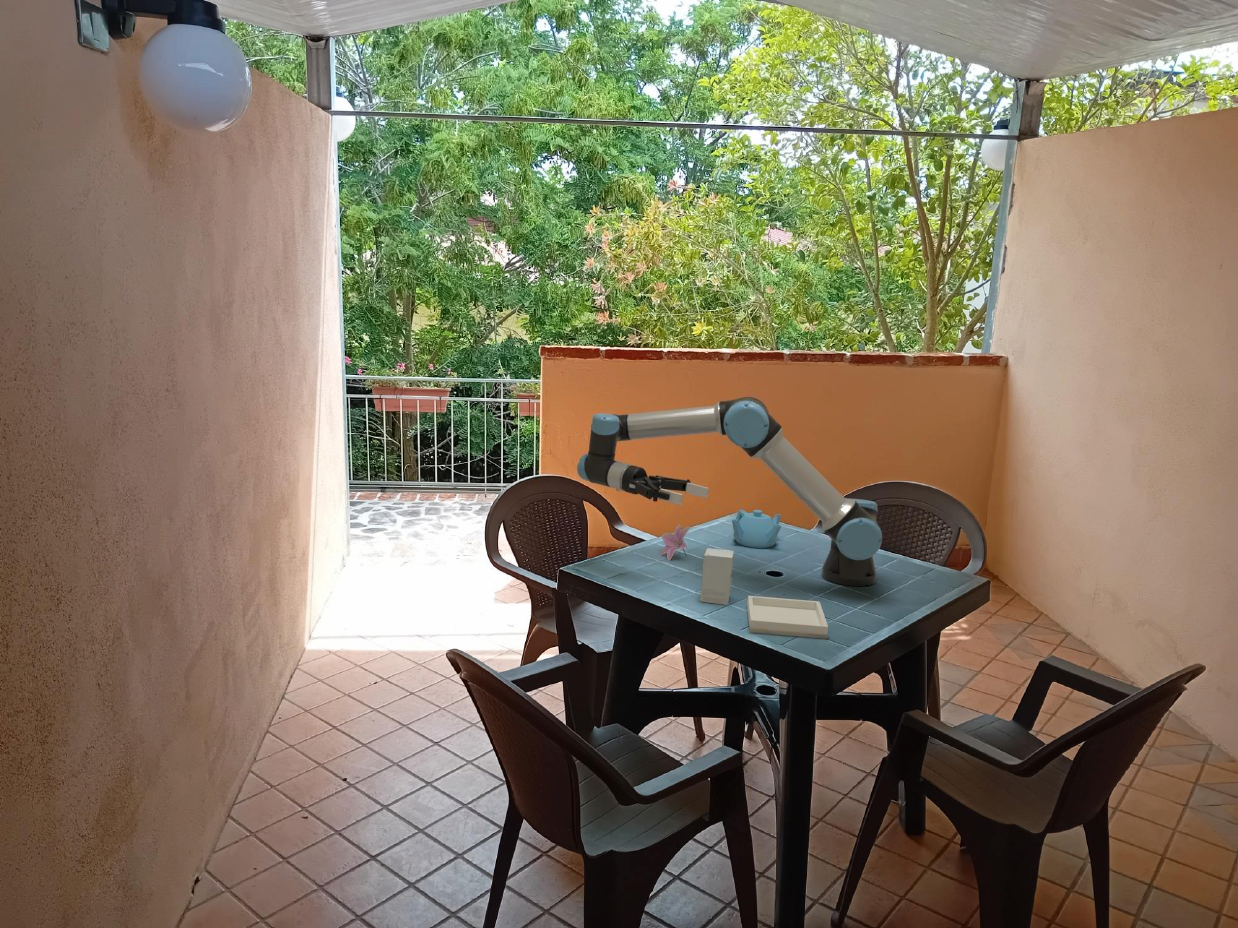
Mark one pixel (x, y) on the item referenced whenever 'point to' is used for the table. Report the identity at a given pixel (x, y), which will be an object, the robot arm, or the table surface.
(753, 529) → the teapot
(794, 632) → the tray
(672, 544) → the lily
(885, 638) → the table surface
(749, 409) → the robot arm
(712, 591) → the supplement box
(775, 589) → the table surface
